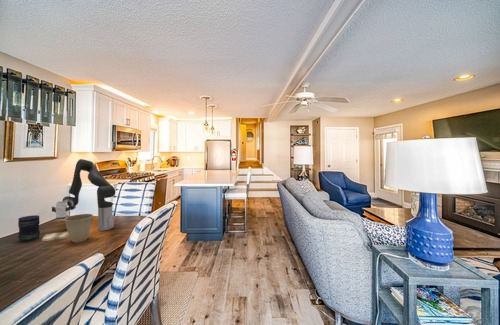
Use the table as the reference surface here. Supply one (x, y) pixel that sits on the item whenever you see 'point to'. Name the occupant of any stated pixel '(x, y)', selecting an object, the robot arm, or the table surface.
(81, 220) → the plant pot
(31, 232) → the storage jar
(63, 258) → the table surface
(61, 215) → the aluminium block
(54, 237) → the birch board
